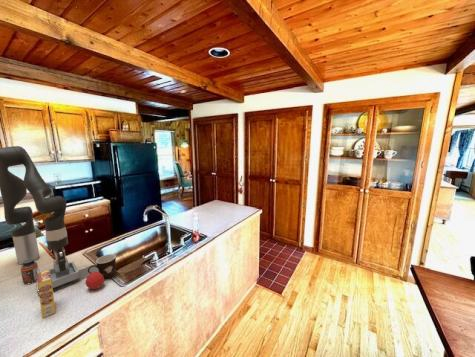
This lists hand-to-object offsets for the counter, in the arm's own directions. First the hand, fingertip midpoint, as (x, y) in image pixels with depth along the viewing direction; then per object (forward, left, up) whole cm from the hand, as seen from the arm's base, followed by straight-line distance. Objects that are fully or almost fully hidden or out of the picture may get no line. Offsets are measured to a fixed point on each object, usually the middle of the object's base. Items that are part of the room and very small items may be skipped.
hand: (61, 267), depth 99 cm
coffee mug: (+12, +15, -8) cm, 21 cm away
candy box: (+19, -7, -8) cm, 22 cm away
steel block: (0, 0, -5) cm, 5 cm away
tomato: (+18, +10, -8) cm, 22 cm away
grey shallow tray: (0, -2, -8) cm, 8 cm away
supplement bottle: (-13, -11, -8) cm, 19 cm away
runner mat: (0, +3, -8) cm, 8 cm away
